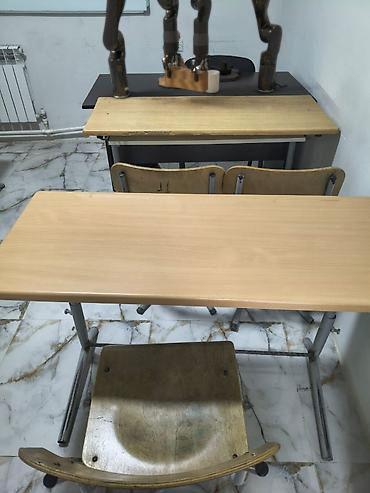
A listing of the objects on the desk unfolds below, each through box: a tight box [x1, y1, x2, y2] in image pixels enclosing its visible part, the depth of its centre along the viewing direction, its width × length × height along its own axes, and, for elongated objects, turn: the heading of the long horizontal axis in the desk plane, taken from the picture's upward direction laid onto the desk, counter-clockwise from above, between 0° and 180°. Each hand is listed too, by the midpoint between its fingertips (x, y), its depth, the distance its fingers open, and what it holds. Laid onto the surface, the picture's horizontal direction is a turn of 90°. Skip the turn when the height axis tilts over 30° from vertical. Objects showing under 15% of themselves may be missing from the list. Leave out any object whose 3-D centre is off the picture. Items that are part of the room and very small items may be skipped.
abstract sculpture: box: [209, 58, 240, 83], centre depth 228 cm, size 25×9×20 cm
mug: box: [204, 69, 220, 94], centre depth 205 cm, size 12×8×10 cm
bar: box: [164, 66, 208, 93], centre depth 185 cm, size 24×5×9 cm, turn 56°
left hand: (172, 76), depth 189 cm, fingers closed on bar, 4 cm apart
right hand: (200, 79), depth 181 cm, fingers open, 7 cm apart
